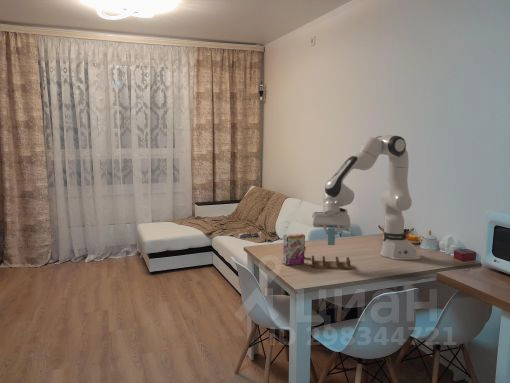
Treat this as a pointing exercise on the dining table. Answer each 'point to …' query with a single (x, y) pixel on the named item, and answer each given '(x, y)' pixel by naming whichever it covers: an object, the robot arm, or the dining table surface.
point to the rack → (331, 264)
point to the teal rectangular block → (331, 235)
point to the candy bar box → (293, 249)
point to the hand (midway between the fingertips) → (331, 233)
